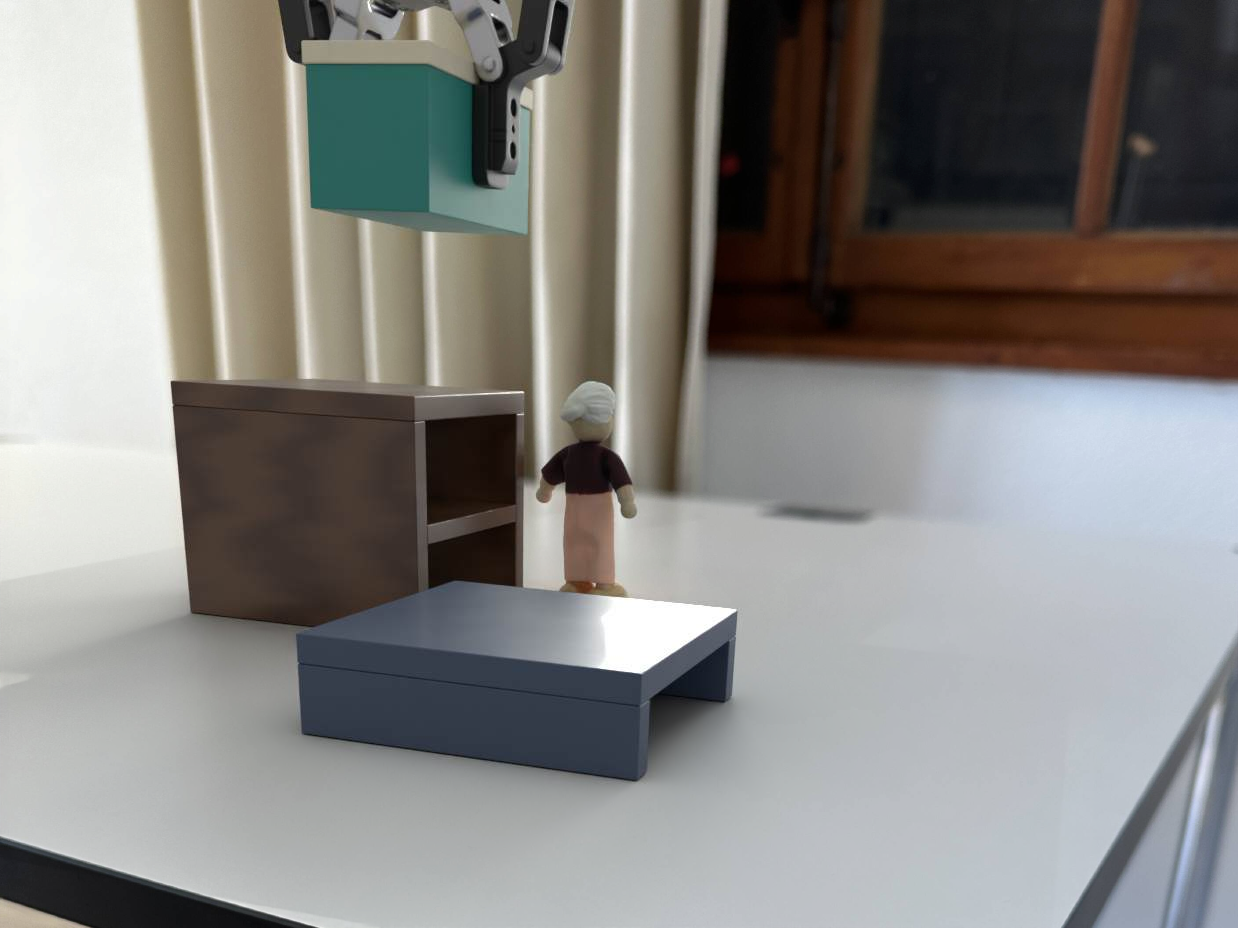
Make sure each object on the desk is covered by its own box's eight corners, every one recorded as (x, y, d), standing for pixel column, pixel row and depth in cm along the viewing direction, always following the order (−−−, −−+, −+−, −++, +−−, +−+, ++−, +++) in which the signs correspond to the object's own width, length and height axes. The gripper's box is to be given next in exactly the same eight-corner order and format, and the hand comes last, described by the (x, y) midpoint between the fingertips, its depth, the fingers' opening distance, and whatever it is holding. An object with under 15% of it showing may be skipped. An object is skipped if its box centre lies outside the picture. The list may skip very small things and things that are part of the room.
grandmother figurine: (653, 597, 83) (662, 384, 79) (626, 606, 80) (634, 385, 75) (547, 583, 86) (550, 377, 81) (517, 592, 83) (518, 377, 78)
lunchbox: (306, 207, 55) (300, 39, 52) (422, 231, 64) (421, 89, 61) (429, 212, 53) (428, 39, 51) (530, 236, 62) (533, 90, 60)
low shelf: (301, 733, 52) (295, 632, 50) (455, 662, 64) (454, 580, 63) (637, 781, 48) (641, 673, 47) (732, 696, 61) (738, 609, 59)
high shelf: (190, 612, 72) (169, 380, 68) (323, 576, 85) (313, 378, 80) (419, 639, 69) (413, 396, 64) (523, 597, 81) (525, 391, 77)
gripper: (626, -267, 53) (606, 201, 59) (314, -246, 57) (327, 191, 63) (555, -359, 46) (541, 179, 53) (206, -328, 50) (233, 170, 56)
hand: (424, 184), depth 58 cm, fingers closed on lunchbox, 5 cm apart
